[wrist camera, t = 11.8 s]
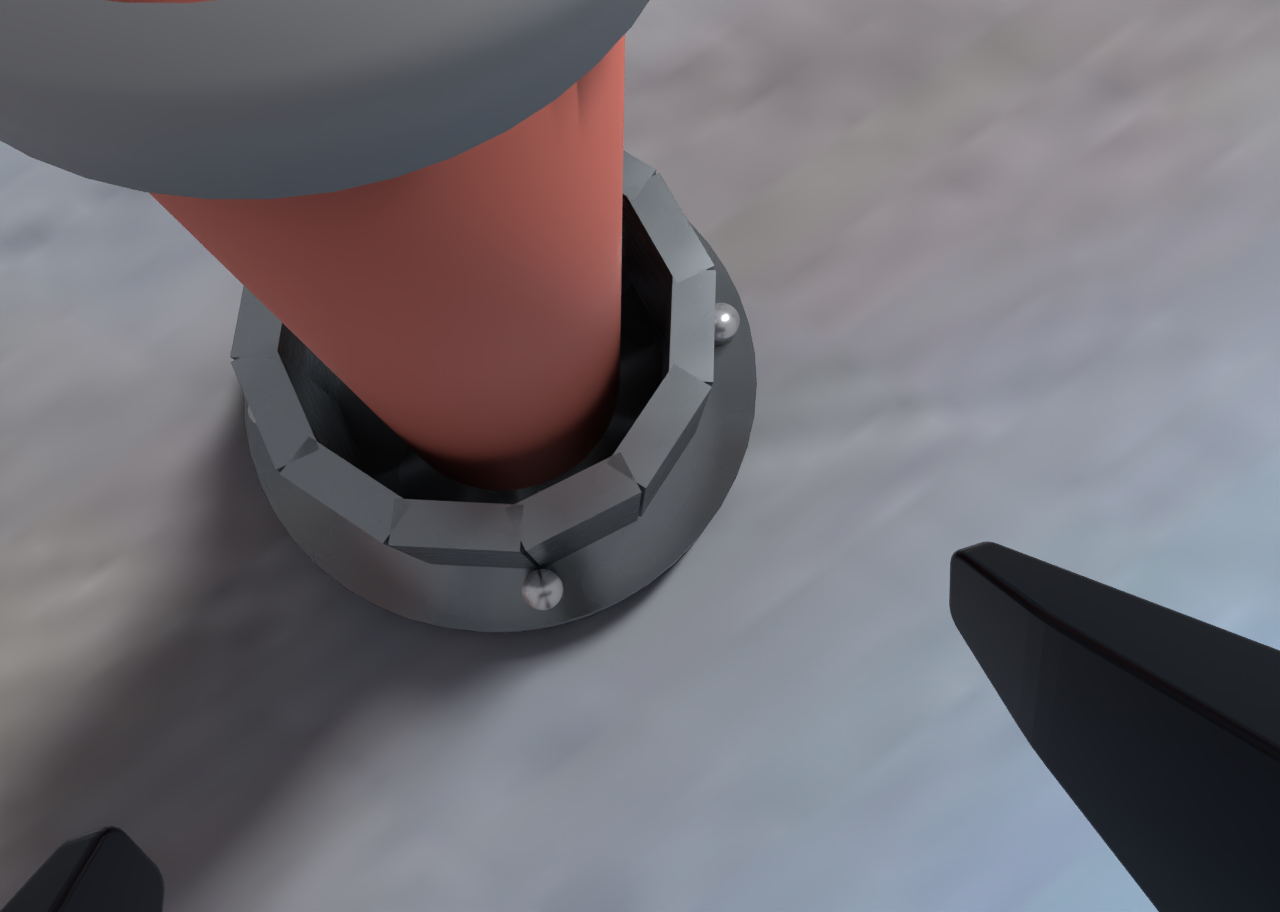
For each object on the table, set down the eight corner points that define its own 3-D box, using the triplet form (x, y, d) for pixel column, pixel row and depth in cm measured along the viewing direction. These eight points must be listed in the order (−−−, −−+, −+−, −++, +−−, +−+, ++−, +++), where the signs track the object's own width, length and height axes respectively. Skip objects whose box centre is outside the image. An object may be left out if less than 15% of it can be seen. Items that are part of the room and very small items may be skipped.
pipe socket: (575, 737, 16) (561, 766, 12) (161, 454, 17) (26, 397, 13) (834, 322, 18) (892, 234, 14) (455, 101, 20) (415, -35, 16)
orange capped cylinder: (541, 568, 16) (288, 297, 4) (310, 417, 16) (-573, -250, 4) (693, 341, 17) (885, -417, 5) (474, 210, 18) (164, -749, 6)
